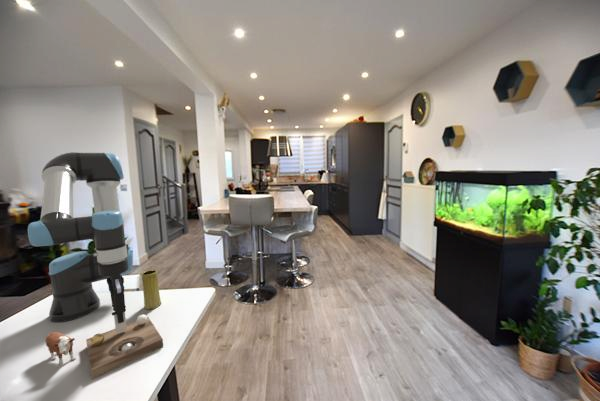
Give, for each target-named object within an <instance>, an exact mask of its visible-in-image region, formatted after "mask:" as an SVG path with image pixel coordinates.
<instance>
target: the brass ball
mask: <svg viewBox="0 0 600 401" xmlns="http://www.w3.org/2000/svg"><path fill="white" fill-rule="evenodd" d="M91 338H92V339H91V344H92V345H94V346H97V345H100V344H101V343H102V342H103V341H104V335H103V334H102V333H96V334H94V335H93V336H92V337H91Z"/></svg>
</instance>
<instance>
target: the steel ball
mask: <svg viewBox="0 0 600 401" xmlns="http://www.w3.org/2000/svg"><path fill="white" fill-rule="evenodd" d="M132 347H133V344H131V343H127V344H125V345H123V346H122V348H121V351H126V350H128V349H131V348H132Z"/></svg>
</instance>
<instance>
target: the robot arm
mask: <svg viewBox="0 0 600 401" xmlns="http://www.w3.org/2000/svg"><path fill="white" fill-rule="evenodd" d="M122 167H123V166H122V164H121V160H120V158H119V157H118V155H117V154H115V153H111V152H109V153H107V152H76V151H75V152H72V151H71V152H65V153H62V154H59V155H57V156H55V157H54V158H52V159H50V160H49V161H48V162H47V163H46V164H45V166H44V167H43V168H42V170H41V171H42V172H41V179H42V181H43V182H44V186H43V195H42V196H43V197H42V203H41V204H42V205H41V211H40V220H38V221H33V222H30V223H28V226H27V237H28V240H29V244H30V245H31V246H33V247H46V246H56V245H60V244H67V243H72V242H73V243H74V242H79V241H88V240H94V244H95V245H94V246H95V248H94V252H93V253H89V252H88V250H83V251H75V252H71V253H68V254H66V255H61V256H60V257H57V258H55V259H53V260H52V261H51V262H50V263H49V265H48V269H49V271H48V272H49V273H48V275H49V278H50V284H51V291H52V292H51V293H52V301H51V302H52V303H51V306H50V310H49V314H48V316H49V320H50V322H53V323H62V322H68V321H72V320H76V319H78V318H82V317H85V316H87V315H89V314H91V313H92V312H94V311H96V310H98V309H99V307H100V306H101V300H100V298H99V296H98V294H97V293H96V291H95V290H94V287H93V283H95V282H99V281H100V282H101V281H103V280H106V283H107V286H108V291H109V294H110V300H111V307H112V312H111V316H113V318H114V325H115V328H114V329H116V333H119V332H121V331H124V330H127V326H126V324H127V319H126V310H127V309H126V308H127V307H126V301H125V300H126V299H125V286H124V283H125V279H124V275H128V274H130V273H131V272H132V270H133V264H134V252H133V251H134V249H133V248H134V247H132V246H129V243H128V242H127V241H126V237H125V236H126V235H125V228H124V227H125V225H124V223H125V222H124V221H125V220H124V218H123V213H122V212H121V211H120V203H119V194H118V187H119V185H120V184H121V180H123V179H124V172H123V168H122ZM76 181H80V182H82V181H83V182H84V181H85V183H86V186H88V187H89V188H91V193H92V202H93V210H94V213H93V214H92V215H89V216H81V217H74V184H75V183H76Z"/></svg>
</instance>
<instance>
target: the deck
mask: <svg viewBox="0 0 600 401" xmlns="http://www.w3.org/2000/svg"><path fill="white" fill-rule="evenodd" d="M126 326H127V330H124V331H121V332H119V333H116V328H113V329H111V330H108V331H105V332H103V333H101V334H103V335H104V341H103V342H102V343H101V344H100V345H97V346H94V345H92V344H91V339H92V337H89V338H86V341H85V342H86V348H87V354H88V361H89V368H90V373H91V379H92V380H94V379H97V378H99V377H100V376H103V375H104V374H107V373H109V372H112V371H114V370H115V369H118V368H120V367H122V366H125V365H126V364H128V363H130V362H133V361H135V360H137V359H140V358H141V357H143V356H145V355H148V354H150V353H152V352H154V351H157V350H159V349H161V348H163V347H164V341H163V340H164V339H163V338H162V335H160V332H159V331H158V330H157V329H156V327H155V325H154V323H153V322H152V320H151V319H150V317H149V316H147V322H146V323H145V324H143V325H139V324H137V322H136V320H135V321H132V322H129V323H126ZM127 343H131V344H133V347H132V348H131V349H128V350H126V351H121V348H122V346H123V345H125V344H127Z"/></svg>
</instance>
